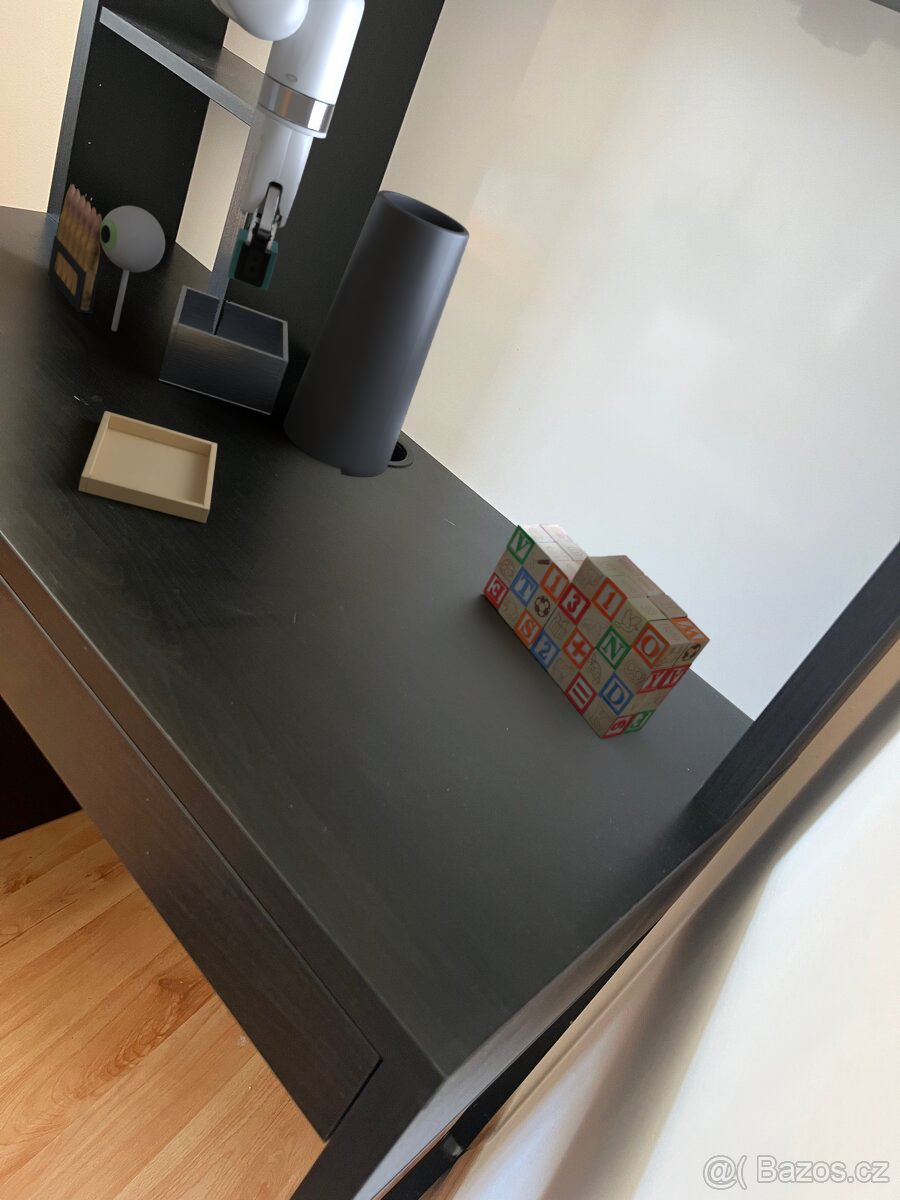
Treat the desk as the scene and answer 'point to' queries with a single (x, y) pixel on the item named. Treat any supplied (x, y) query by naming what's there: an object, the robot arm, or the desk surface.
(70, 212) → the ammunition clip
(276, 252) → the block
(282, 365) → the dark open-top crate
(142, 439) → the shallow wooden tray
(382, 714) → the desk surface
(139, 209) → the lollipop
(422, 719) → the desk surface
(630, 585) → the stack of blocks
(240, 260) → the robot arm
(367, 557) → the desk surface
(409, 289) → the vase
